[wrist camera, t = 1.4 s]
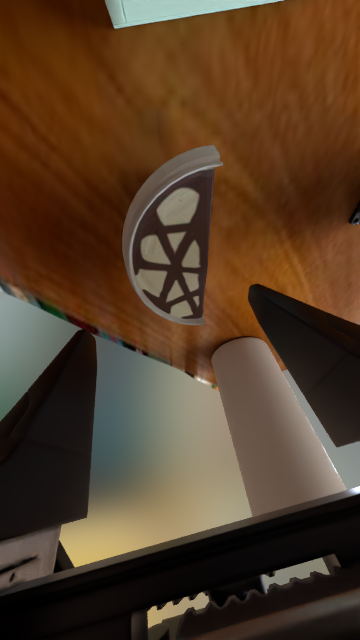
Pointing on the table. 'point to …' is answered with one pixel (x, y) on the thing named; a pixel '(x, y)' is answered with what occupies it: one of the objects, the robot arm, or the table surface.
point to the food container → (172, 236)
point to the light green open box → (168, 9)
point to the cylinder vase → (270, 430)
